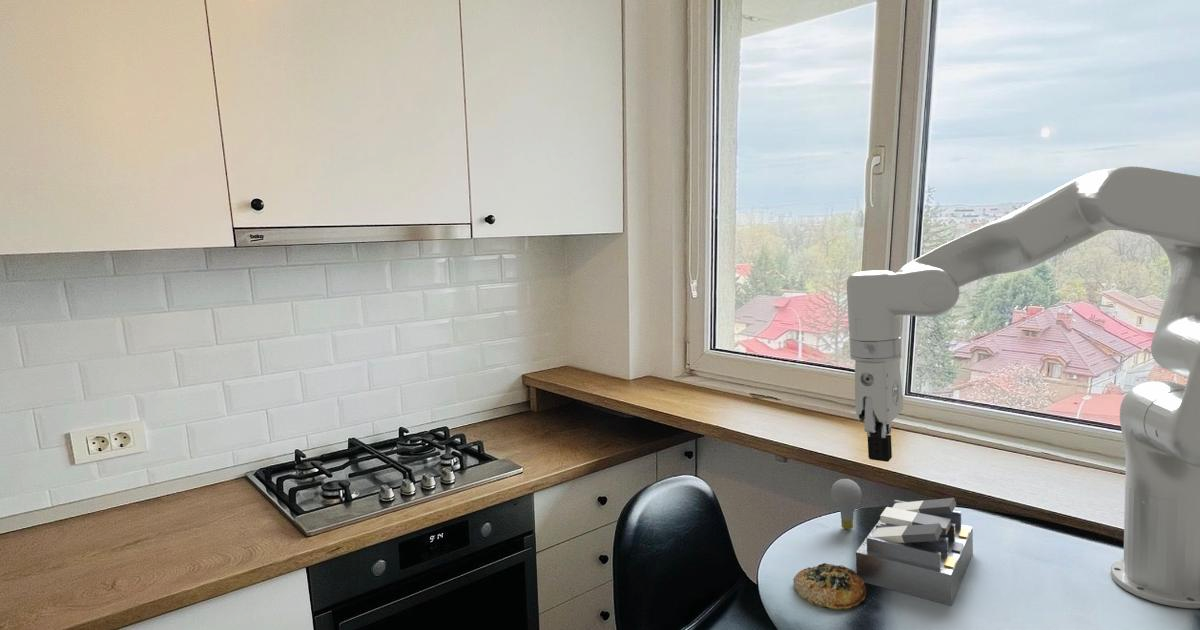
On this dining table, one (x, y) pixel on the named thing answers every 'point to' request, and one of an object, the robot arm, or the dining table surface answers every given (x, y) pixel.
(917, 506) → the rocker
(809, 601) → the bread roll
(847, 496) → the light bulb
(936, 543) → the switch box
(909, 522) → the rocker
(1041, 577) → the dining table surface
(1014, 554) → the dining table surface
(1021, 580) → the dining table surface
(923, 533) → the rocker
